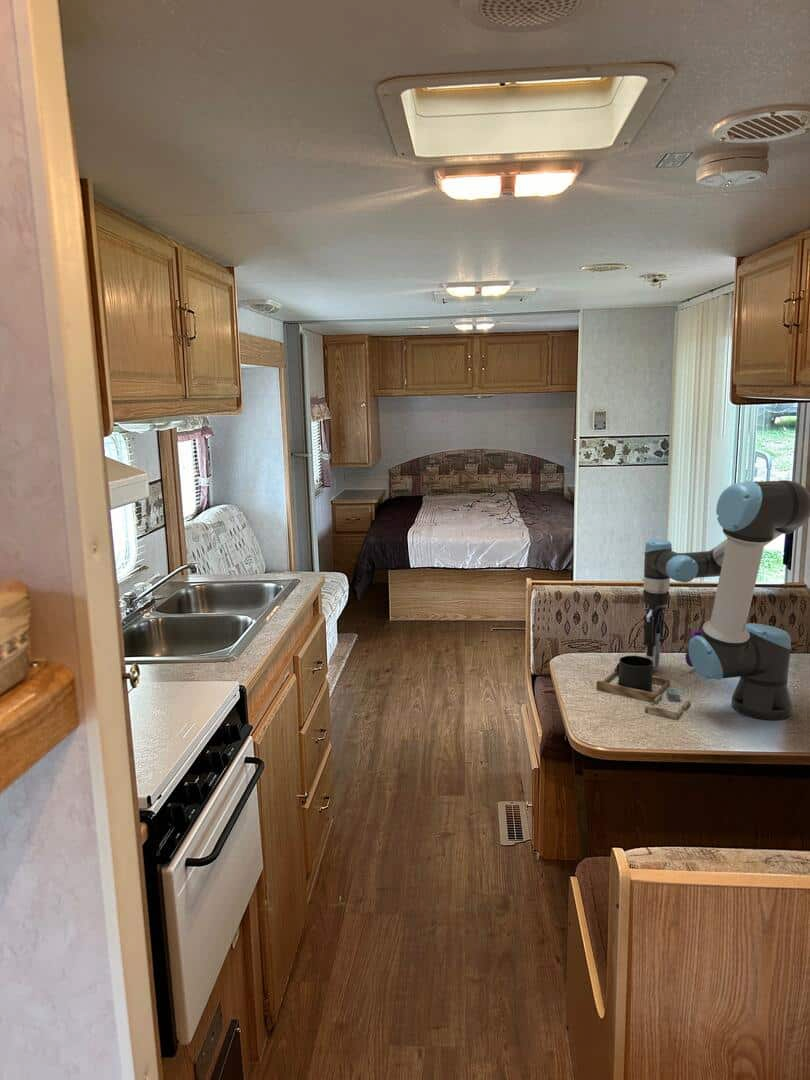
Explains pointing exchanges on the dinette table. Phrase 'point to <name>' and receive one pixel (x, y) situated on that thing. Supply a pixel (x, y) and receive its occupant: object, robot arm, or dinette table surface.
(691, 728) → the dinette table surface
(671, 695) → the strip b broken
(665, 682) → the wooden frame with post
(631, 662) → the mug
